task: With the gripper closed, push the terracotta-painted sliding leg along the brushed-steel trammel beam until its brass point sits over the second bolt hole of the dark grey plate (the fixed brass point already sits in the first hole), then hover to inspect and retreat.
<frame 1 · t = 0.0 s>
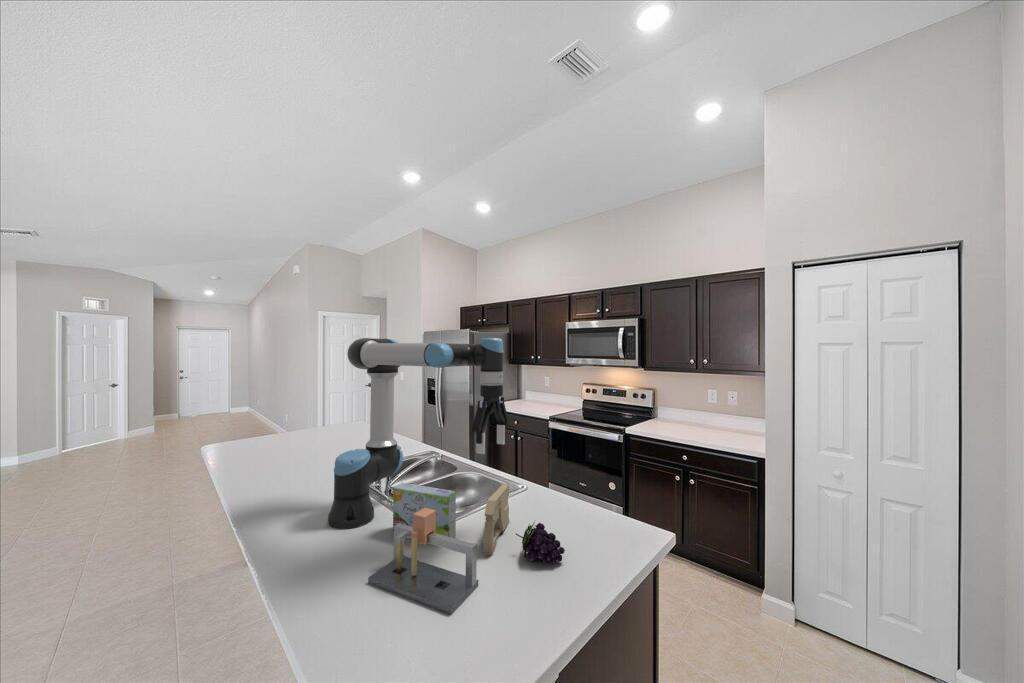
hand: (491, 448, 125), 28 cm above the counter, fingers open, 13 cm apart
bolt plate: (423, 584, 97), on the counter
fruit: (539, 559, 110), on the counter
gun: (497, 537, 123), on the counter
sliding leg: (421, 541, 102), point 9 cm above the counter, slide at 0.0 cm
trammel beam: (432, 576, 101), resting on bolt plate
snack box: (423, 535, 124), on the counter
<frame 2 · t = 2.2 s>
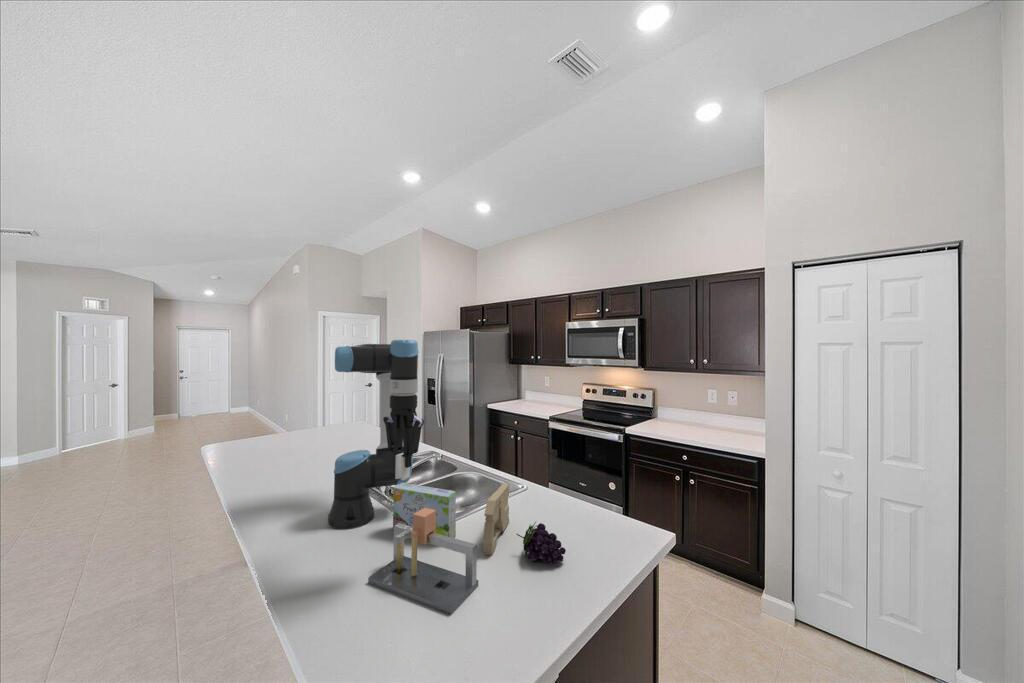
hand: (402, 477, 106), 24 cm above the counter, fingers closed
nothing on the counter moved.
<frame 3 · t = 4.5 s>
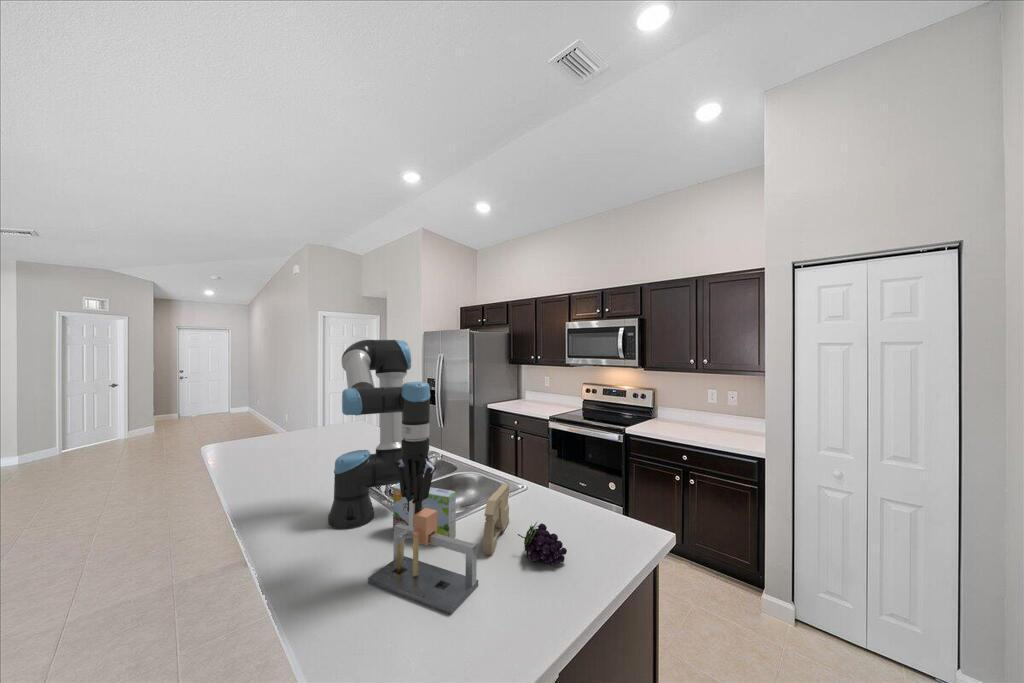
hand: (414, 524, 104), 12 cm above the counter, fingers closed
sliding leg: (423, 541, 101), point 9 cm above the counter, slide at 0.5 cm, touching gripper
everything else where it was.
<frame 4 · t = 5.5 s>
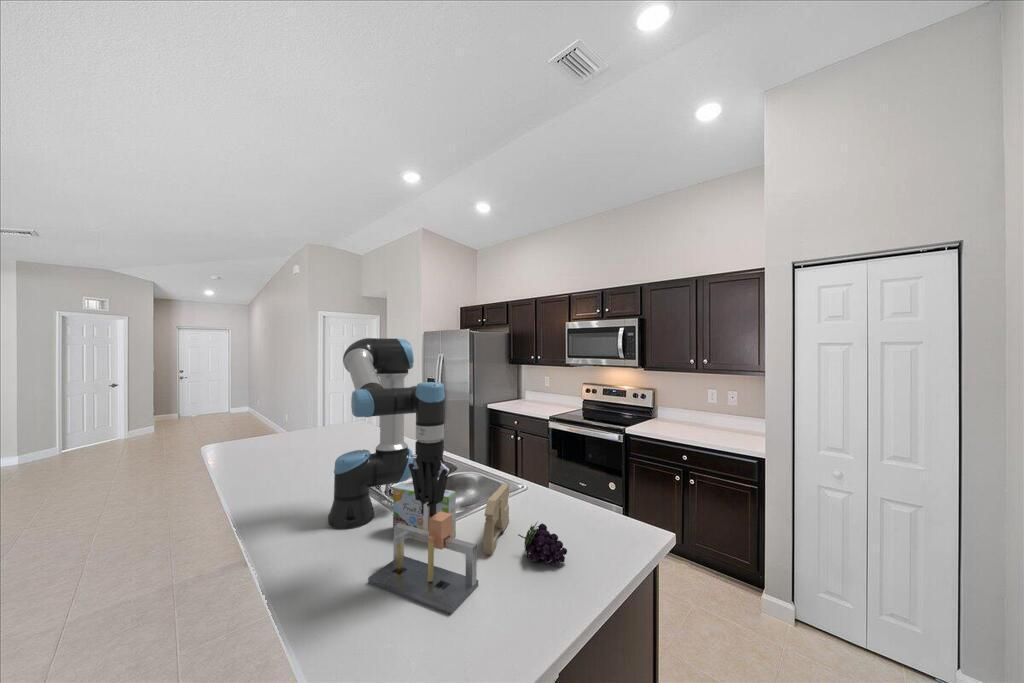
hand: (428, 527, 102), 13 cm above the counter, fingers closed
sliding leg: (437, 545, 99), point 9 cm above the counter, slide at 5.4 cm, touching gripper
everything else where it was.
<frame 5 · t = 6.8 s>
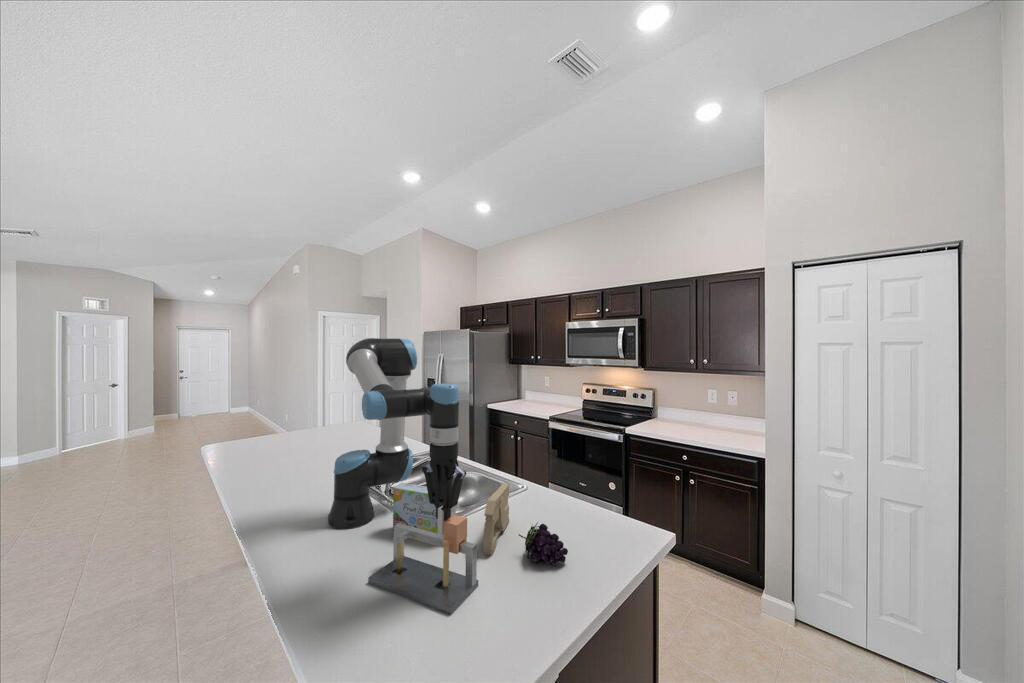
hand: (443, 531, 100), 12 cm above the counter, fingers closed
sliding leg: (452, 550, 97), point 9 cm above the counter, slide at 10.2 cm, touching gripper
everything else where it was.
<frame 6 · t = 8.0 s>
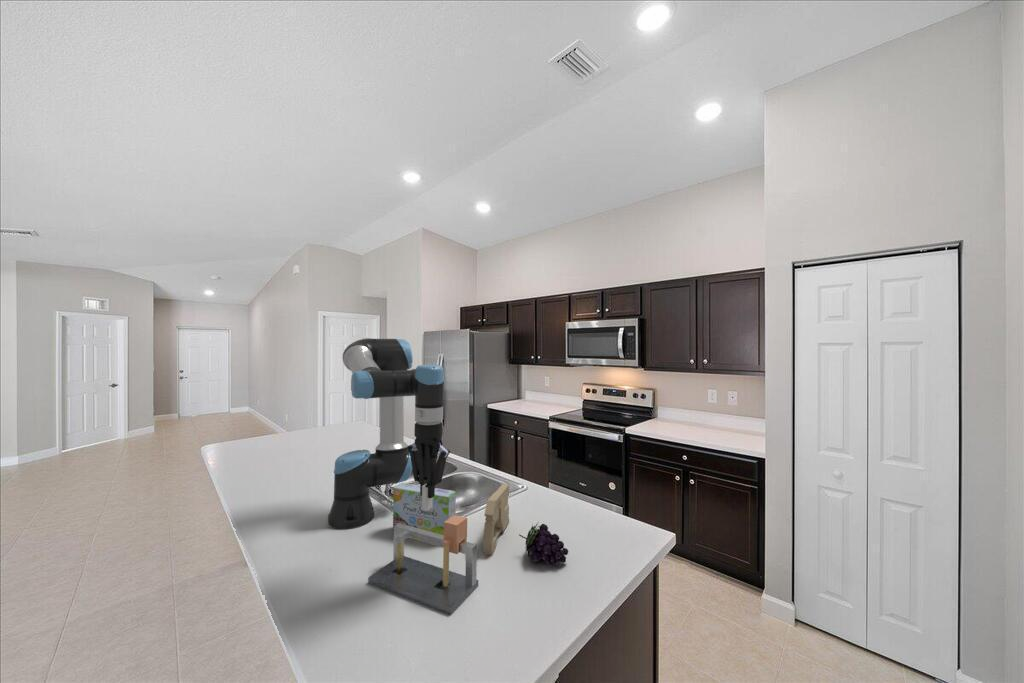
hand: (427, 508, 103), 17 cm above the counter, fingers closed
sliding leg: (452, 550, 97), point 9 cm above the counter, slide at 10.2 cm
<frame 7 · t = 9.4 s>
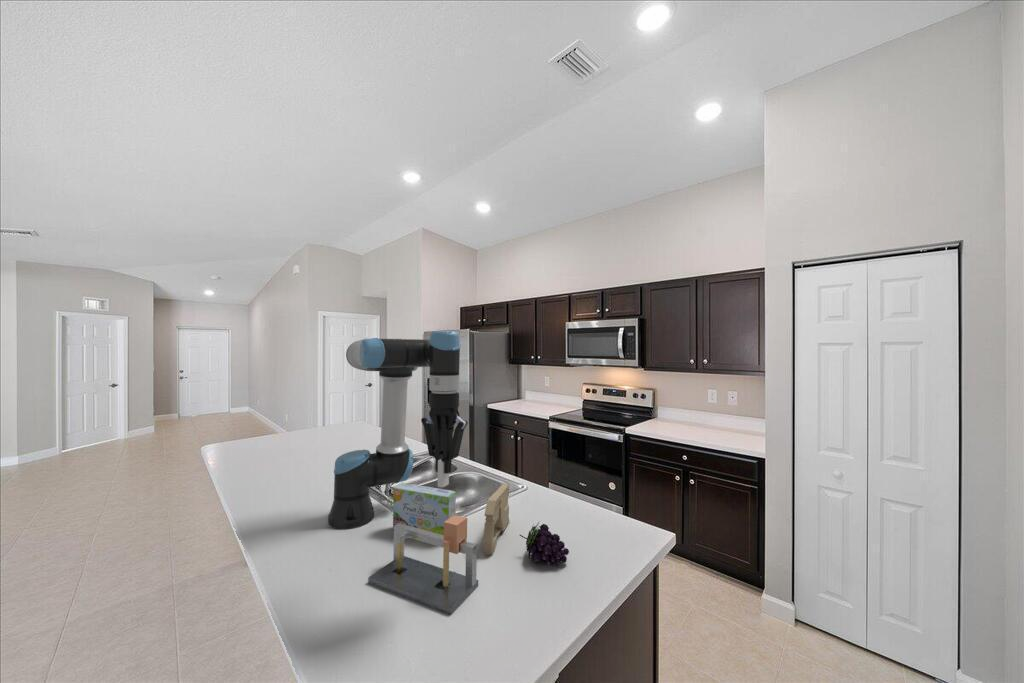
hand: (443, 485, 95), 26 cm above the counter, fingers closed
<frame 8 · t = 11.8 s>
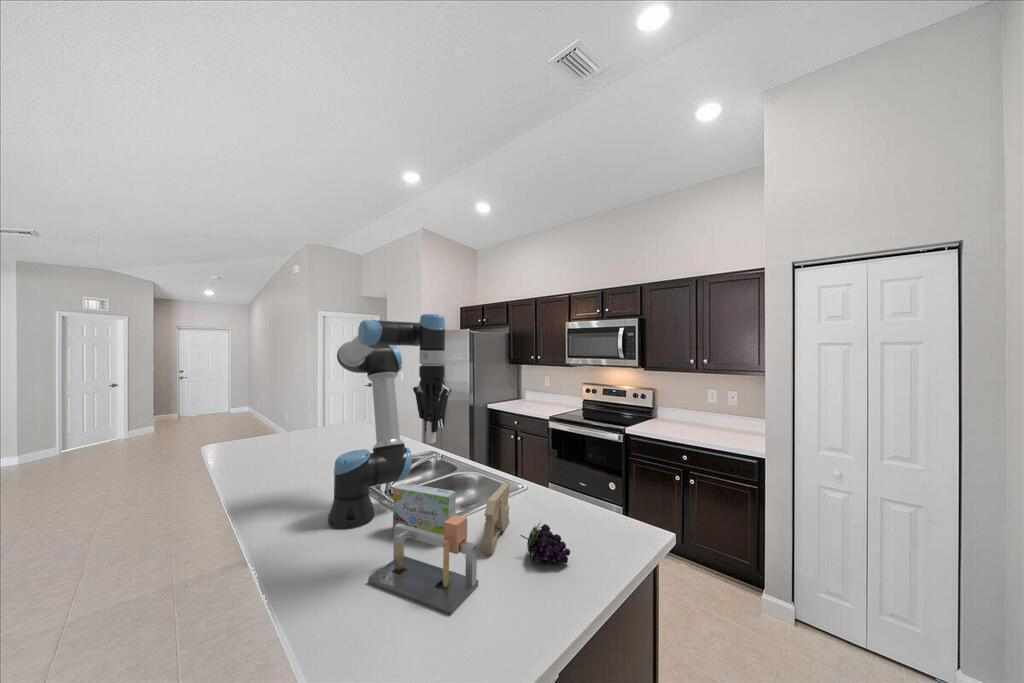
hand: (431, 442, 115), 32 cm above the counter, fingers closed
at the end: sliding leg slide at 10.2 cm; sliding leg 1.2 cm from the target spot, resting on bolt plate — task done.
